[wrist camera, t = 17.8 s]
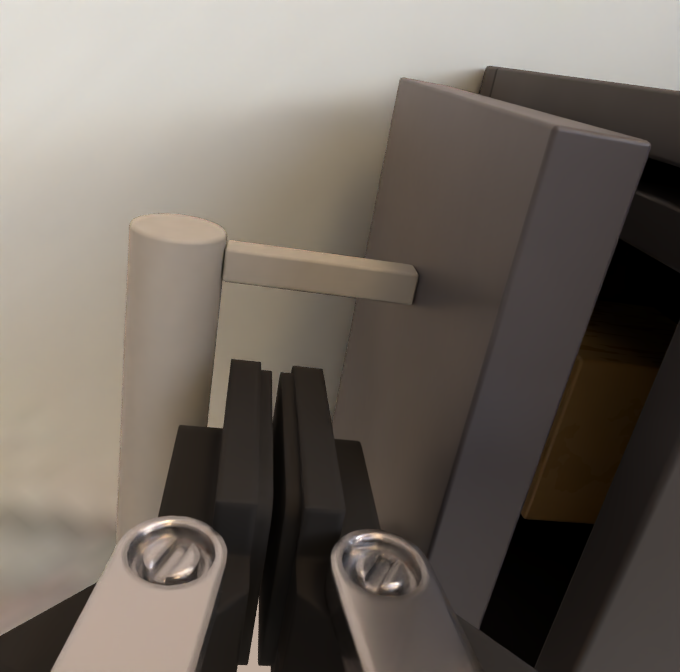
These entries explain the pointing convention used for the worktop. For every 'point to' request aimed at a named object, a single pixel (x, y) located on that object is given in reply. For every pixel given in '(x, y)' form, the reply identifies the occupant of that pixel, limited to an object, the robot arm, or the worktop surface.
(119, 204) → the worktop surface
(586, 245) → the grey drawer with handle
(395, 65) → the worktop surface
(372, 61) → the worktop surface
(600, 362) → the block
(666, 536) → the grey open box
